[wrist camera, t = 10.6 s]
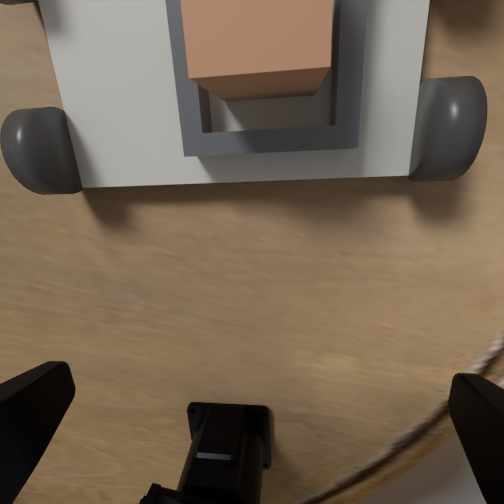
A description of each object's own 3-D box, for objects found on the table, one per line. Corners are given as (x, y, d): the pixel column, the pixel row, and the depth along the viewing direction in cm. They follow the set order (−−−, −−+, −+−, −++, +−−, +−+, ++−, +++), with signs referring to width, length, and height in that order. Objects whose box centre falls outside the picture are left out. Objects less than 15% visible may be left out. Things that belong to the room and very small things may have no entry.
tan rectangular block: (314, 95, 15) (330, 66, 9) (225, 101, 15) (188, 78, 10) (316, -35, 13) (338, -169, 7) (216, -23, 14) (165, -138, 8)
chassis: (428, 175, 17) (474, 185, 13) (75, 188, 19) (17, 201, 15) (477, -166, 12) (573, -323, 8) (7, -89, 15) (-102, -178, 11)
